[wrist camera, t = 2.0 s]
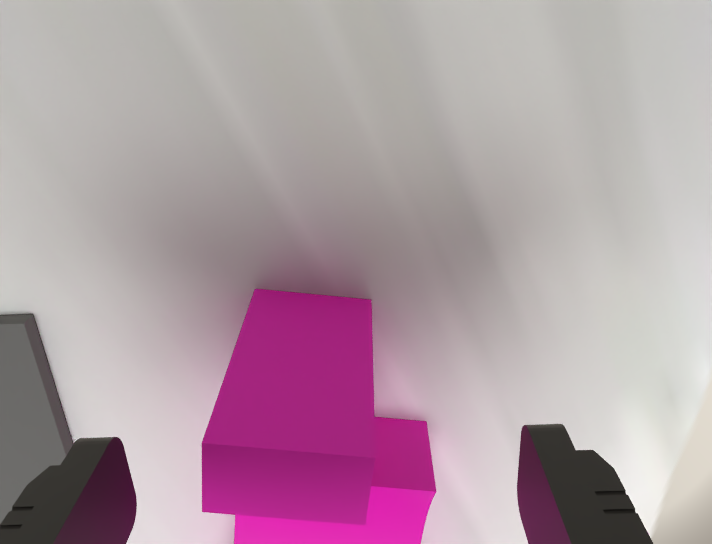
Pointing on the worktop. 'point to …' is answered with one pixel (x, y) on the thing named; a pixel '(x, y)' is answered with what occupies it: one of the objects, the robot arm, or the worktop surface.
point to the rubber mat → (26, 410)
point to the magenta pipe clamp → (312, 432)
